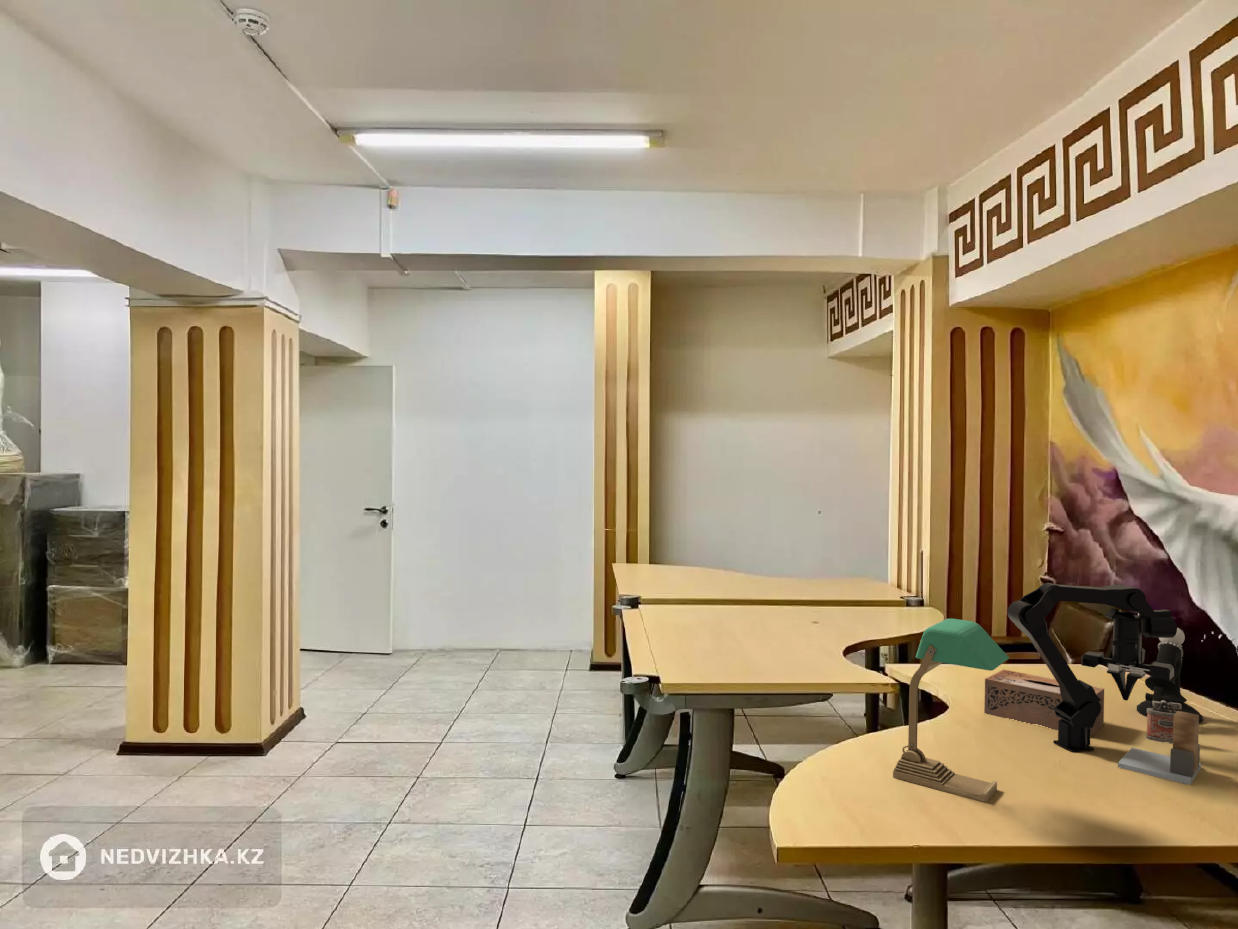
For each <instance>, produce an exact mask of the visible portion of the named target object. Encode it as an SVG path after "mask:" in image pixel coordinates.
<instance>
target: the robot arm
mask: <svg viewBox="0 0 1238 929" xmlns="http://www.w3.org/2000/svg"><path fill="white" fill-rule="evenodd" d="M1059 601H1060V602H1070V603H1071V602H1074V603H1085V604H1086V603H1087V604H1098V605H1107V606H1110V607H1112V608H1111V609H1110V610H1109V611H1107V612H1106V613H1104V615H1103V616H1104V617H1106V618H1108V619H1111V620H1113V629H1112V630H1113V633H1112V634H1113V637H1112V643H1111V649H1110V650H1111V653H1112V657H1111V658H1109V657H1105V654H1104V653H1102V652H1101V653H1100V652H1095V651H1086V652H1085V653H1084V654H1082V655H1081V658H1080V666H1083V667H1088V668H1096V667H1098V666H1099V665H1101V666H1107V670H1106V673H1107V674H1110V675H1111V677H1112V678H1113V680H1114V682H1115V684H1116V686H1117V688H1118V690H1119V692H1120V695H1121V697H1122V700H1123V701H1129V699H1130V697H1131V693H1132V691H1133V689H1134V687H1135V685H1136V683H1137V681H1138V680H1139V679H1140V680H1141V679H1143V678H1144V677H1145V676H1146V675H1147V673H1149V675H1151V676H1152V677H1153V678H1157V679H1163V680H1170V679H1171V678H1172V677H1173V676H1174V667H1173V666H1172V665H1171V664H1165V663H1158V662H1154V661H1153V662H1154V663H1153V664H1152V665H1151V664H1145V663H1144V662H1145V656H1146V649H1144V648H1143V647H1142V635H1143V636H1144V637H1145V638H1155V639H1157V638H1158V639H1159V638H1173V637H1174V636H1175V635H1176V633H1177V628H1178V625H1177V623H1176V621H1175V618H1174V617H1173V616H1172V611H1171V610H1169V609H1158V610H1157V609H1155V610H1154V609H1153V607H1151V604H1150V603H1149V602H1148V600H1147V597H1146V595H1145V593H1144V591H1143V590H1142V589H1140V588H1137V587H1133V586H1129V585H1125V584H1120V583H1119V584H1110V585H1104V586H1100V587H1097V586H1096V587H1094V586H1082V585H1081V586H1080V585H1070V584H1069V585H1068V584H1055V583H1051V582H1045V583H1043V584H1041V585H1040V586H1039V587H1037V588H1036V589H1035V590H1033V591H1031V592H1029V593H1027V594H1025V595H1023V596H1022V597H1021V598H1020V599H1019V600H1015V601H1013V602H1012V603H1011V604H1010V605H1009V607H1008V608H1007V611H1006V613H1007V616H1008V618H1009V620H1010V621H1011V622H1012V623H1013V624H1014V625H1015V626H1016V627H1017V629H1019V630H1020V631H1021V632H1022V633H1023V634H1024V635H1025V636H1027V638H1029V640H1030V641H1031V643H1032V645H1033V646H1034V648H1035V649H1036V651H1037V653H1038V654H1039V656H1040V657H1041V659H1042V661H1043V662H1044V663H1045V665H1046V667H1047V668H1048V670H1049V672H1050V673H1051V674H1052V676H1053V679H1056V681H1057V682H1058V684H1059V686H1060V694H1061V697H1062V699H1063V700H1062V701H1061V702H1060V703H1059V704H1058V705H1057V706H1056V707H1054V712H1055V715H1056V716H1057V717H1059V718H1061V720H1058V730H1057V732H1058V733H1057V736H1058V737H1057V739H1055V740H1054V739H1053V741H1052V743H1054V744H1056V745H1057V746H1060V747H1061V748H1063V749H1065V750H1067V751H1070V752H1072V753H1073V752H1087V751H1095V748H1094V747H1093V746H1091V736H1090V730H1091V729H1090V728H1093V726H1094V723H1095V721H1096V718H1097V717H1098V716H1099V714H1100V712H1101V709H1102V707H1101V704H1100V702H1099V701H1101V699H1100V698H1098V696H1097V695H1096V693H1095V691H1094V689H1093V687H1092V686H1093V685H1090V684H1089V683H1086V682H1085V681H1083V680H1080V679H1078V678H1077V677H1076V674H1075V673H1074V672H1073V670H1072V669H1071V667H1070V666H1069V664H1068V662H1067V660H1066V659H1065V658H1064V656H1063V655H1062V653H1061V652H1060V650H1059V648H1058V646H1057V645H1056V643H1055V642H1054V640H1053V639H1052V638H1051V635H1050V634H1049V632H1048V625H1047V621H1046V619H1045V617H1047V616H1048V615H1049V614H1050V613H1051V612H1052V610H1053V608H1055V605H1056V604H1057V603H1058V602H1059ZM1117 608H1118V609H1117ZM1119 609H1122V610H1125V611H1120V610H1119ZM1126 610H1127V611H1126ZM1133 613H1136V614H1137V615H1134V614H1133ZM1126 669H1127V670H1129V673H1128V674H1126Z"/></svg>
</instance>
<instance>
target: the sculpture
mask: <svg viewBox="0 0 1238 929" xmlns="http://www.w3.org/2000/svg"><path fill="white" fill-rule="evenodd" d="M1158 639H1159V641H1160V642H1159V643H1158V644H1157V649H1158V653H1157V656H1156V660H1155V661H1152V662H1151V664H1150V665H1152V664H1153V663H1154V662H1158V663H1165V664H1171V665H1172V666H1173V667H1174V676H1173V677H1172V678H1171V679H1170V680H1163V679H1157V678H1153V677H1152V676H1151V675H1150V674H1149V675H1150V676H1148V677H1147V678H1145V679H1144V684H1145V686H1146V687H1147V688H1148V689H1149V690H1150V691H1152V692H1153V693H1148V692H1145V695H1144V697H1145V700H1143V701H1141V702H1140V703H1139V704H1137V705H1136V712H1137V711H1138V712H1139V713H1138V712H1137V713H1138V714H1140V715H1141V714H1142V715H1141V716H1144V717H1146V716H1147V708H1153V705H1152V701H1158V702H1161V701H1162V700H1164V701H1166V702H1167V703H1170V702H1172V703H1179V704H1181V705H1182V709H1176V711H1181V712H1186V713H1191V714H1197V715H1199V724H1202V723H1203V722H1204V717H1203V715H1202V714H1201V712H1199V711H1198V710H1197V709H1196V708H1194V707H1193V706H1191V705H1190V704H1188V703H1187V702H1188V699H1187V698H1185V696H1184V695H1182V694H1181V670H1182V666H1183V664H1182V663H1183V657H1184V650H1183V645H1182V644H1183V643H1184V641H1185V639H1186V637H1185V633H1184V631H1183V630H1182V629H1181V628H1179V627H1177V633H1176V635H1175V636H1174V637H1173V638H1158ZM1158 707H1159V706H1157V708H1156V709H1158ZM1169 710H1171V711H1172V708H1169Z"/></svg>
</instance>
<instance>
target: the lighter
mask: <svg viewBox="0 0 1238 929" xmlns="http://www.w3.org/2000/svg"><path fill="white" fill-rule="evenodd" d="M1152 705H1153V708H1147V718H1146V719H1147V720H1146V721H1147V722H1146V734H1145V738H1146V740H1148V741H1149V740H1150V741H1153V742H1160V743H1164V742H1169V743H1168V744H1172V743H1173V716H1174V715H1175V713H1176V712H1177V711H1176V709H1182V705H1181V704H1179V703H1172V702H1170V703H1167V702H1166V701H1164V700H1162V701H1161V702H1158V701H1152ZM1157 706H1159V707H1158V709H1156V708H1157ZM1169 708H1172V711H1171V710H1169Z"/></svg>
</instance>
